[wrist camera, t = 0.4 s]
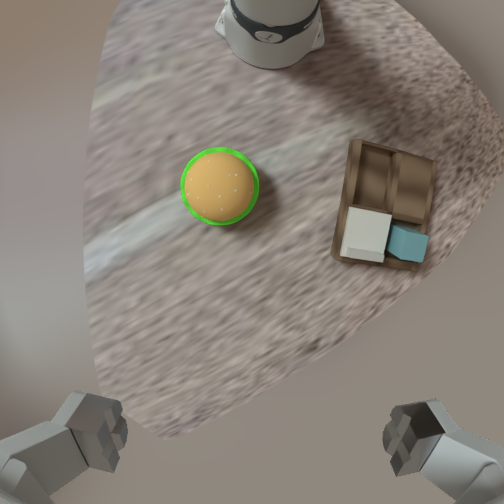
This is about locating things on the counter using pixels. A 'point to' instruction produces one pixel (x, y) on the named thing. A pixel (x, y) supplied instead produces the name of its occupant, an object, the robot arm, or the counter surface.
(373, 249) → the cover
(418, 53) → the counter surface
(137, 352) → the counter surface
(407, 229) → the block
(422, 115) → the counter surface
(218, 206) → the hamburger
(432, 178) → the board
